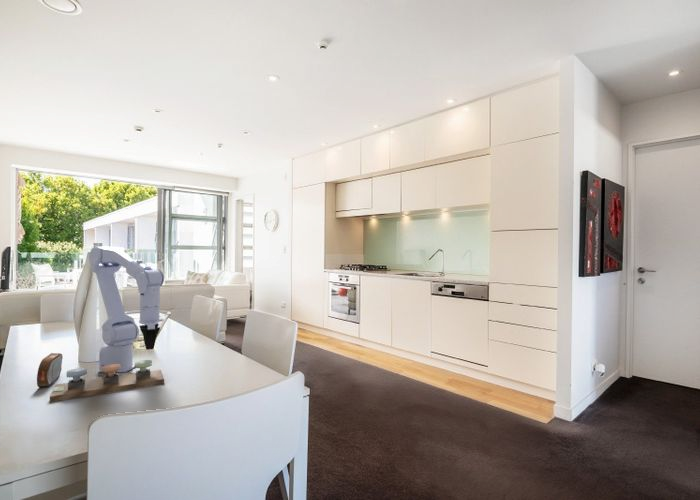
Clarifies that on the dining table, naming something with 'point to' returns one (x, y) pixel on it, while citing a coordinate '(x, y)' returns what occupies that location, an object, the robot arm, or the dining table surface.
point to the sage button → (143, 365)
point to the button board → (106, 385)
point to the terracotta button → (111, 369)
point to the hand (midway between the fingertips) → (149, 347)
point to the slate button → (76, 373)
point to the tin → (49, 369)
